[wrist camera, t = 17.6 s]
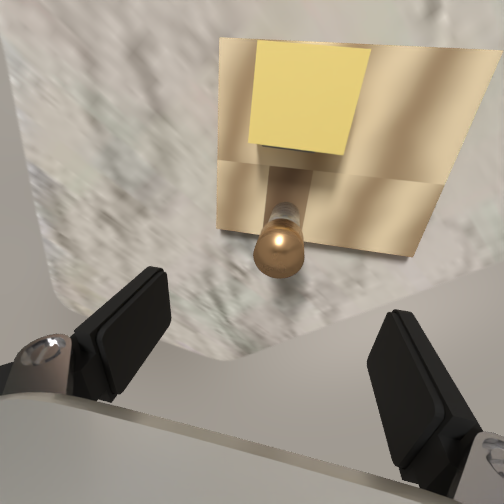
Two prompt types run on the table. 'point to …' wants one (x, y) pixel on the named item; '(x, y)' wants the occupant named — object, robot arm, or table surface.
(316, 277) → the table surface
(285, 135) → the yellow rectangular block
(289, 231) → the two-tone metal cylinder
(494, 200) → the table surface
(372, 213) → the subfloor panel
